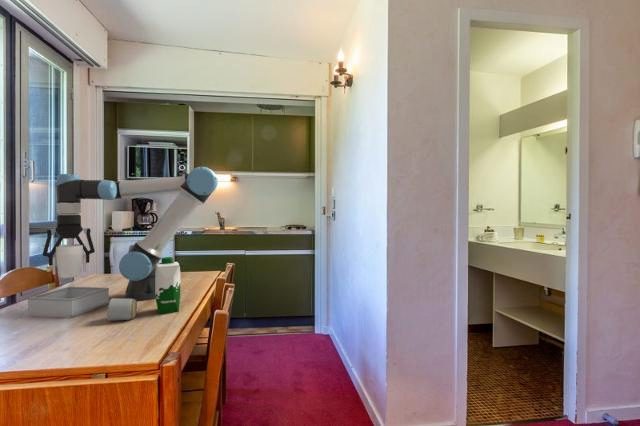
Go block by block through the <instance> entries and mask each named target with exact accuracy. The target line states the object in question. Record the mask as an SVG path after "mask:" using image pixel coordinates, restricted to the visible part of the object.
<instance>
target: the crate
mask: <svg viewBox="0 0 640 426" xmlns="http://www.w3.org/2000/svg"><path fill="white" fill-rule="evenodd" d="M109 289H110V287H100V286H99V287H96V286H65V287H62V288H59V289H55V290H51V291H49V292H43V293H40V294H36V295H34V296H30V297H27V317H42V318H43V317H44V318H45V317H48V318H64V319H65V318H66V319H67V318H68V319H69V318H70V319H73V318H76V317H78V316H81V315H84V314H85V313H89V312H91V310H92V311H93V310H96V309H98V308H101V307H104V306H107V305H109V301H110V297H109V296H110V295H109V292H110V291H109Z"/></svg>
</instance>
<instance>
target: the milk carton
mask: <svg viewBox="0 0 640 426" xmlns="http://www.w3.org/2000/svg"><path fill="white" fill-rule="evenodd" d="M155 275H156V276H155V296H156V298H155V303H156V307H157V313H158V314H159V315H161V314H169V313H176V312H177V313H179V312H180V311H179V310H180V303H181V267H180V263H179V262H178V261H174V258H173V257H172V256H168V257H166V256H165V257H162V258H161V262H159V263H157V264H156V270H155Z"/></svg>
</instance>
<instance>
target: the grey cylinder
mask: <svg viewBox="0 0 640 426" xmlns="http://www.w3.org/2000/svg"><path fill="white" fill-rule="evenodd" d="M107 305H108V306H107V320H108V322H117V321H118V322H119V321H129V320H133V319H134V318H135V317H136V314H137V309H138V303H137V300H135V299H125V298H114V297H113V298H110V299H109V304H107Z"/></svg>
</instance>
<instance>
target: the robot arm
mask: <svg viewBox="0 0 640 426" xmlns="http://www.w3.org/2000/svg"><path fill="white" fill-rule="evenodd" d="M218 181H219V180H218V177H217V174H216V173H215V171H213V170H212V169H210V168H209V167H206V166H198V167H195V168H193V169H192V170H191V171H190V172H189V173H183V174H182V175H181V176H173V177H172V176H170V177H157V178H156V177H155V178H147V179H146V178H145V179H144V178H143V179H133V180H132V179H131V180H130V179H129V180H121V181H120V180H119V181H118V180H117V181H114V180H107V179H82V178H81V175H80V174H73V173H59V174H58V175H57V176H56V185H55V187H56V214H57V216H56V228H53V229H52V228H51V229H50V228H49V229H47V230H46V234H47V235H46V241H45V244H44V248H43V251H42V256H43V257H47V258H48V266H49V267H51V266H52V275H56V257H55V252H56V247H59V245H61V243H62V241H63V240H67V239H75V240H76V241H77V242H78V244H80V245H83V251H84V254H83V260H82V267H83V269H82V270H83V273H85V272H86V273H87V264H88V263H90V255H91V254H94V253H95V252H96V251H95V247H94V244H93V240H92V236H91V228H89V227H87V228H86V227H82V215H81V213H82V201H81V200H105V201H106V200H107V201H113V200H121V199H129V198H142V197H143V198H144V197H154V196H165V195H168V196H169V195H177V194H178V195H177V196H176V197H175V199H174V200H173V201H172V203H171V204H170V205H169V206H168V207H167V209H166V210H165V212H164V213H163V214H162V215H161V217H160V218H159V219H158V221H157V222H156V223H155V224H154V226H153V227H152V228H151V229H150V230H149V231H148V233H147V235H145V237H144V238H143V239H140V240H137V241H136V242H135V243H134V244H130V246H129V247H128V252H127V253H125V254H124V255H123V256H122V257H121V258H120V260H119V264H118V270H119V272H120V274H121V276H123V278H125V279H127V280H128V282H127V286H126V290H125V291H124V292H125V293H124V299H135V300H136V301H147V300H153V299H156V296H155V276H156V275H155V270H156V264H157V263H160V261H161V260H162V258H164V257H163V250H164V249H165V248H166V247H167V246H168V244H169V243H170V242H171V241H172V239H173V238H174V236H175V235H176V234H177V233H178V231H179V230H180V229H181V228H182V226H183V225H184V224H185V223H186V221H187V220H188V218H190V216H191V214H192V213H193V212H194V210H196V208H197V207H198V206H199V205H204V204H205V203H206V201H207V200H208V198H210V196H211V195H212V193H214V192H215V190H216V188H217V187H218ZM82 232H83V233H84V234H85V235H86V239H87V243H88V247H89V250H88V248H87V246H86V245H85V244H84V242H83V240H82V239H81V237H80V234H81V233H82ZM55 233H57V234H58V235H59V237H58V239H57V240H56V241H55V244H54V246H53V247H52V248H51V250H50V252H48V251H49V247H50V245H51V244H50V243H51V241H52V236H53V235H55Z"/></svg>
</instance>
